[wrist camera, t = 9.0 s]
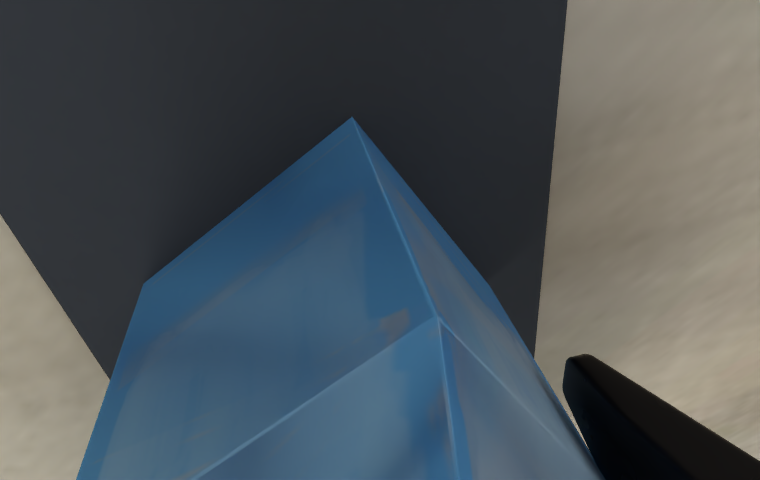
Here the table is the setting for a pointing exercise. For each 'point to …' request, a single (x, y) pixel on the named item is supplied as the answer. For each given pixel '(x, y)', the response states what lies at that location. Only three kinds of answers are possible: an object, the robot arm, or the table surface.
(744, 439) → the table surface
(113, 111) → the desk mat
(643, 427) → the robot arm
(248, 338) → the perfume bottle
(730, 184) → the table surface
